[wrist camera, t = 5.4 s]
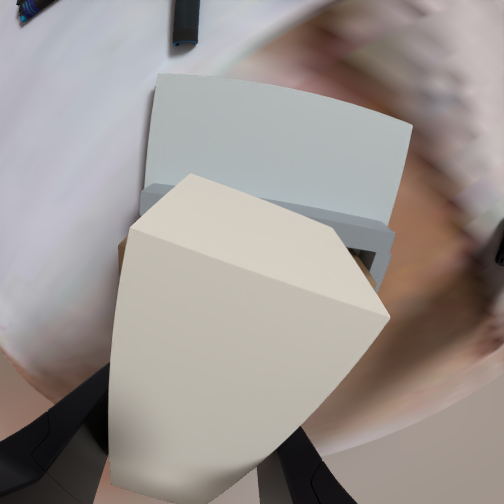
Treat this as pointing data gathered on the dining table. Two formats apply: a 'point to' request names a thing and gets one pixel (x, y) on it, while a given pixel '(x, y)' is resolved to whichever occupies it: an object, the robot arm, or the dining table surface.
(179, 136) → the jig board
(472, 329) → the dining table surface
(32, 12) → the gun
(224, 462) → the long cream prism
